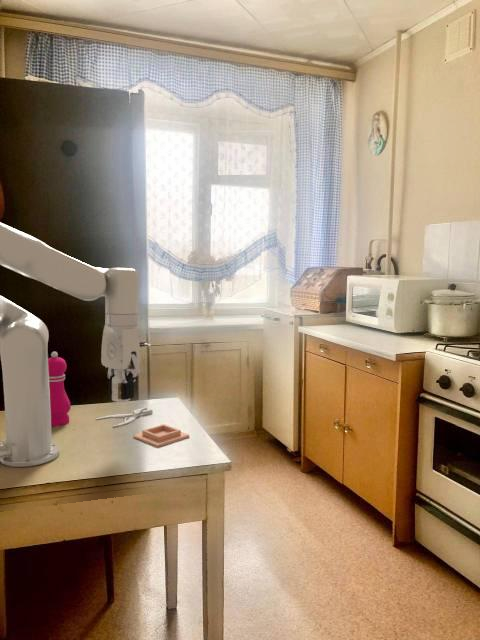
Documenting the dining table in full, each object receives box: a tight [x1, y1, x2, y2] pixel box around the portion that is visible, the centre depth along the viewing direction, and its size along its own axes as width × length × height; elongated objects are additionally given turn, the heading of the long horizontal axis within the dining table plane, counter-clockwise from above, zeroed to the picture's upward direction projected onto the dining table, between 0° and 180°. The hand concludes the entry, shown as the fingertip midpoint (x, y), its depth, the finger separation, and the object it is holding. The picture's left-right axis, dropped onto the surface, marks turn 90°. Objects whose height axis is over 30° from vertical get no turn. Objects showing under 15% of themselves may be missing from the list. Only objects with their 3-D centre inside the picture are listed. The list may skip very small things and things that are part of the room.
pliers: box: [95, 406, 153, 428], centre depth 147 cm, size 10×2×15 cm
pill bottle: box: [111, 367, 131, 403], centre depth 123 cm, size 4×4×8 cm
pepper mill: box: [48, 351, 71, 427], centre depth 142 cm, size 7×7×20 cm
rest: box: [133, 424, 190, 448], centre depth 131 cm, size 10×10×2 cm
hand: (121, 395), depth 123 cm, fingers closed on pill bottle, 4 cm apart
